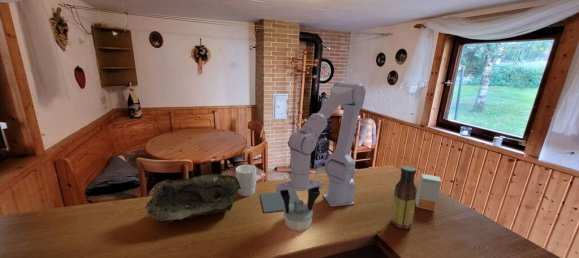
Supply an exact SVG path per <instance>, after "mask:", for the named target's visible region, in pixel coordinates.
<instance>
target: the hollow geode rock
mask: <svg viewBox="0 0 579 258" xmlns="http://www.w3.org/2000/svg"><path fill="white" fill-rule="evenodd" d="M153 189H154V190H153V193H152V196H151V199H150V200H149V201H148V202H147V203H146V205H145V207H144V208H145V209H146V210H147V215H149V216H151V217H152V218H153V219H154V220H158V221H161V222H164V223H165V224H166V225H169V224H171V223H173V222H174V221H177V220H178V221H179V220H183V219H192V218H193V217H195V216H206V215H208V216H210V215H213V214H214V215H215V214H220V213H221V214H222V213H225V212H230V211H231V210H232V207H233V204H235V202H236V201H237V200H238V198H237V193H238V189H241V187H240V185H239V181H238V179H237V178H236V176H233V175H230V174H226V175H223V174H220V173H217V172H216V173H215V172H212V173H203V174H200V175H199V174H198V175H196V176H193V177H189V178H179V179H175V180H173V181H172V180H170V179H164V180H162V181H161V182H159V183H157V184H156V185H155V186H154V187H153Z"/></svg>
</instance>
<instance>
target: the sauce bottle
mask: <svg viewBox="0 0 579 258" xmlns="http://www.w3.org/2000/svg"><path fill="white" fill-rule="evenodd" d="M400 172H401V173H400V178H399V180H398V182H397V183H396V184H395V188H394V193H393V194H394V195H393V200H392V210H391V223H392V225H394V226H395V227H397V228H399V229H402V230H409V229H410V228H411V227H412V224H413V220H414V214H415V207H416V197H417V192H418V189H417V187H416V183H415V181H414V180H415V176H416V172H417V169H416V168H415V167H414V166H410V165H403V166H401V169H400Z"/></svg>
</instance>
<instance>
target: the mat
mask: <svg viewBox="0 0 579 258" xmlns="http://www.w3.org/2000/svg"><path fill="white" fill-rule="evenodd" d="M288 192H289V196H290V200H289V204H292V203H294V201H295V200H300V197H299V196H298V194H297V191H288ZM259 195H260V196H259V197H260V201H261V204H262V209H263V213H264V214H268V213H277V212H284V209H285V204H284V200H283V198H282V196H281V193H277V192H275V191H274V192H264V193H259Z"/></svg>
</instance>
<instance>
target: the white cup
mask: <svg viewBox="0 0 579 258" xmlns="http://www.w3.org/2000/svg"><path fill="white" fill-rule="evenodd" d="M235 177H236V178H237V179H238V181H239V185H240V187H241V189H238V191H237V194H238V195H239V196H242V197H249V196H253V195H254V194H255V193H256V186H257V185H256V183H257V167H256V166H255V165H253V164H242V165H239V166H236V168H235Z"/></svg>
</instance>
